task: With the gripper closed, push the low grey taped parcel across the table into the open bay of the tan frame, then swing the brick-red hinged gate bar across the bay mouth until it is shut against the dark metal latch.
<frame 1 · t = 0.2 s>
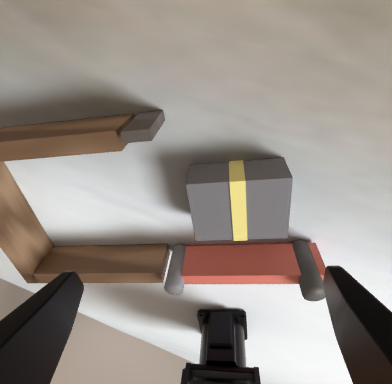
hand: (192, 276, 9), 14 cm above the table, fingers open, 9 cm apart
grey taped parcel: (237, 189, 24), on the table
gate: (242, 269, 25), point 3 cm above the table, hinge at -90.0°
tan frame: (97, 198, 26), on the table
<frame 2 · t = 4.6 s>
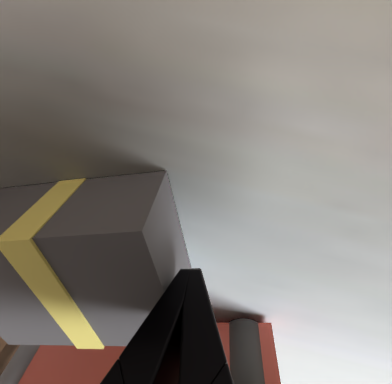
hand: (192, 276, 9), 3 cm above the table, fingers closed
grey taped parcel: (99, 235, 12), on the table, touching gripper
gate: (131, 380, 13), point 3 cm above the table, hinge at -90.0°
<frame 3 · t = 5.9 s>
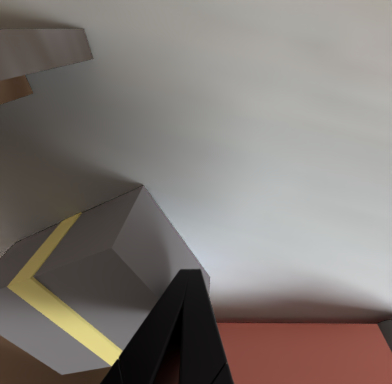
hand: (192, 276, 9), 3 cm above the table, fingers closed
grey taped parcel: (112, 260, 13), on the table, touching gripper
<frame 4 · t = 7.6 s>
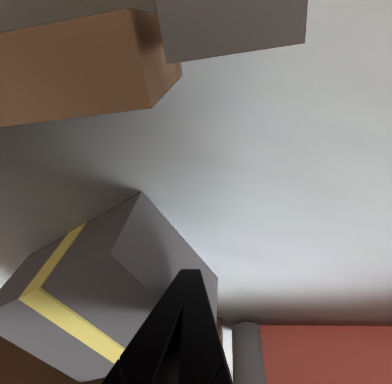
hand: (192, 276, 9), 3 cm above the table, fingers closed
grey taped parcel: (121, 267, 13), on the table, touching tan frame, gripper
tan frame: (83, 238, 12), on the table
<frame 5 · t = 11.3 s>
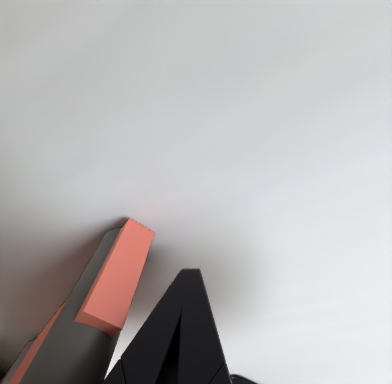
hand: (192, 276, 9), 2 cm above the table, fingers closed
gate: (46, 360, 12), point 3 cm above the table, hinge at -89.8°, touching gripper
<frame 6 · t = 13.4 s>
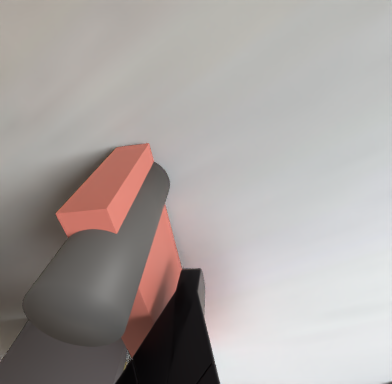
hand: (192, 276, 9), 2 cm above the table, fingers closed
grey taped parcel: (83, 357, 18), on the table
gate: (165, 344, 10), point 3 cm above the table, hinge at -44.9°, touching gripper
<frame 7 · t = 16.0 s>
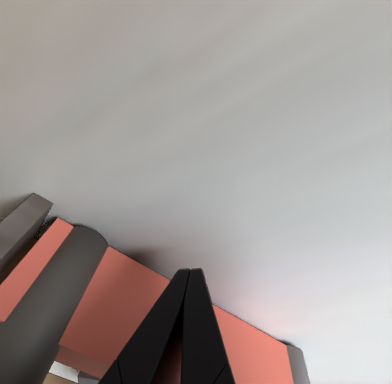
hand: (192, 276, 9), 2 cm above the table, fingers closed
gate: (188, 365, 10), point 3 cm above the table, hinge at -0.7°
tan frame: (115, 345, 16), on the table
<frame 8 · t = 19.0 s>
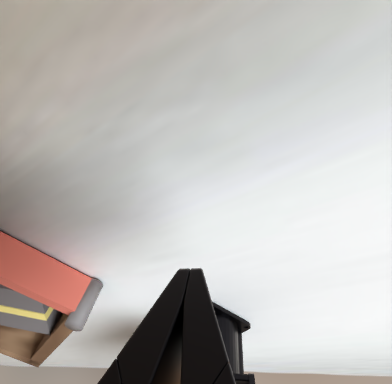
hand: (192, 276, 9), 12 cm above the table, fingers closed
grey taped parcel: (38, 285, 31), on the table
gate: (24, 276, 25), point 3 cm above the table, hinge at -0.7°
tan frame: (18, 283, 31), on the table
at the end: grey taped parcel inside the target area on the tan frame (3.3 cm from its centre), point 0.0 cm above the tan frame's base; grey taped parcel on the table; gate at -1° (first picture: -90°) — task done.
